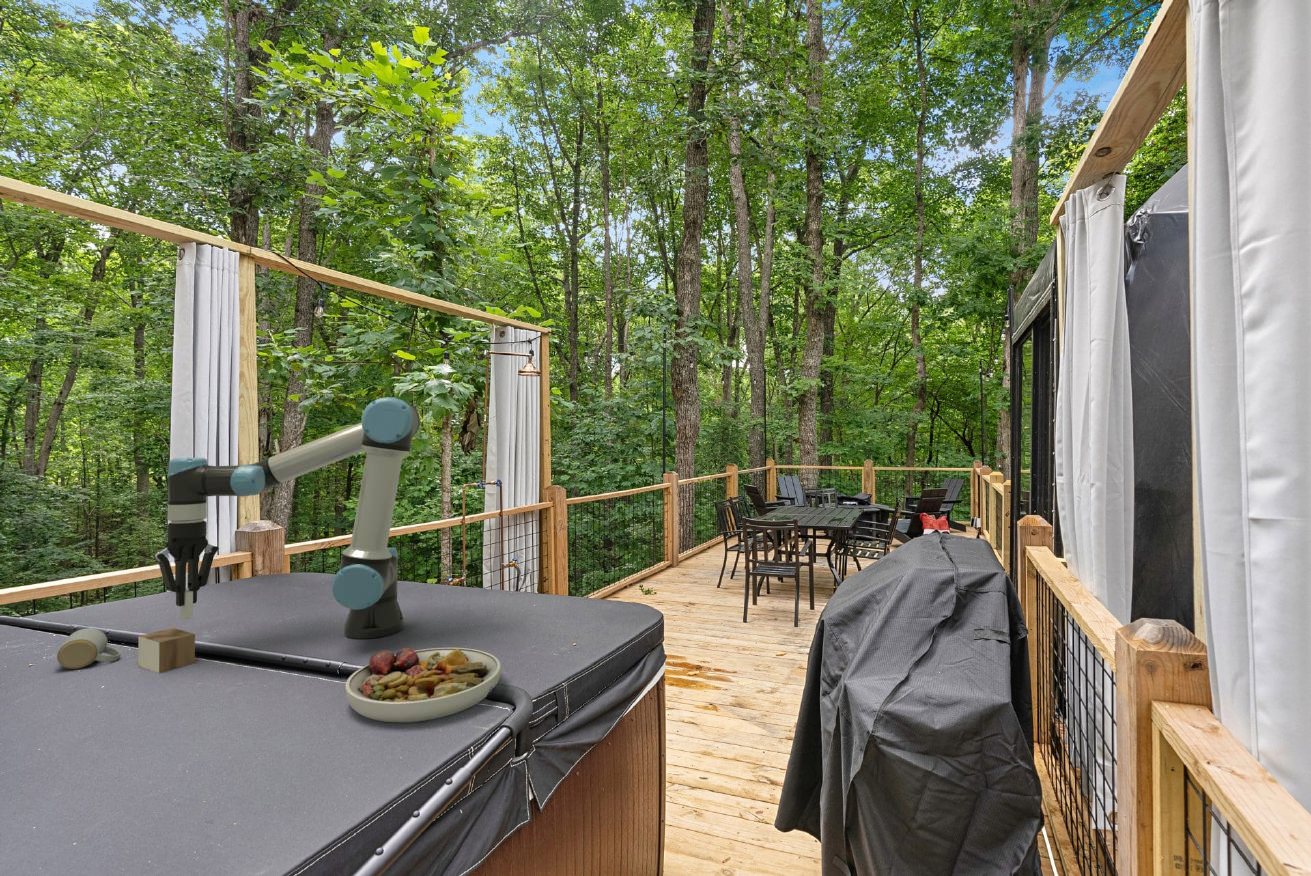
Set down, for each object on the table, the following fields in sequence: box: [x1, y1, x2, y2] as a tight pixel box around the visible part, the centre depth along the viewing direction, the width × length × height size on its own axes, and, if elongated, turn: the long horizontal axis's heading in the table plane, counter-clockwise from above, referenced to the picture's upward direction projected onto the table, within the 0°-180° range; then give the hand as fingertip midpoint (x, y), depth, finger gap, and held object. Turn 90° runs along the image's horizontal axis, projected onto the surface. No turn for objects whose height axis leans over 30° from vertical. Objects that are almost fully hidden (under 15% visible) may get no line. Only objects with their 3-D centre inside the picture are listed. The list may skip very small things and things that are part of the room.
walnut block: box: [137, 627, 196, 674], centre depth 141 cm, size 10×7×7 cm
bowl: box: [344, 647, 502, 723], centre depth 124 cm, size 30×30×8 cm
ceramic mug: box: [56, 627, 122, 670], centre depth 141 cm, size 11×8×8 cm
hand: (186, 618), depth 144 cm, fingers closed
